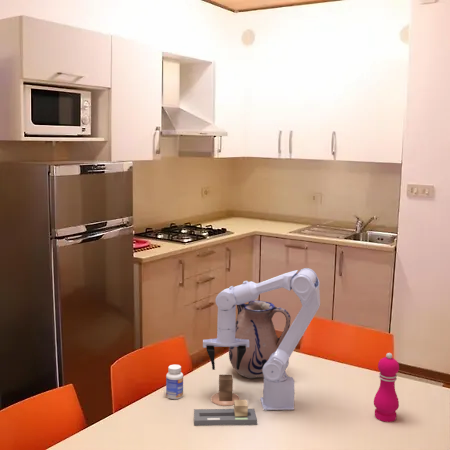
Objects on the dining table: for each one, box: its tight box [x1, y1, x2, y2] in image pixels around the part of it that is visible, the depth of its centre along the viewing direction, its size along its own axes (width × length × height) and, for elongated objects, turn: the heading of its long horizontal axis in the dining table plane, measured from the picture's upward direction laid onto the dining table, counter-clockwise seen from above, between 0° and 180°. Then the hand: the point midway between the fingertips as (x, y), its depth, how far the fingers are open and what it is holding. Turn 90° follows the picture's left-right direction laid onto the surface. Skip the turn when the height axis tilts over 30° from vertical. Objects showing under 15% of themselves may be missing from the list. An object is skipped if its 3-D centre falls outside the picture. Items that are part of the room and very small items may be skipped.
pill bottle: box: [165, 364, 184, 400], centre depth 181 cm, size 5×5×10 cm
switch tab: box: [233, 399, 249, 417], centre depth 167 cm, size 4×4×3 cm
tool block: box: [218, 373, 234, 401], centre depth 180 cm, size 4×4×7 cm
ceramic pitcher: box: [228, 299, 292, 379], centre depth 199 cm, size 18×21×25 cm
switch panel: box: [193, 408, 258, 426], centre depth 167 cm, size 18×7×2 cm, turn 94°
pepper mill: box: [373, 352, 400, 423], centre depth 169 cm, size 7×7×20 cm
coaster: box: [210, 392, 241, 407], centre depth 180 cm, size 9×9×1 cm
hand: (225, 368), depth 181 cm, fingers open, 7 cm apart
